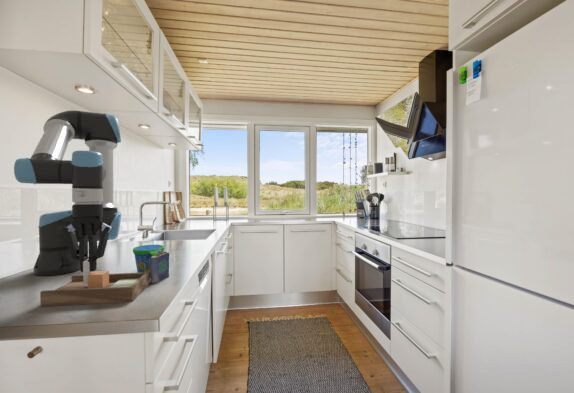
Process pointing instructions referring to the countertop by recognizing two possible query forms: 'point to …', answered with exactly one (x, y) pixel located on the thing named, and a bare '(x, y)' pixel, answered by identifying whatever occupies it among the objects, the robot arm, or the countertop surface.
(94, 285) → the block
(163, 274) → the purple carton
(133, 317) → the countertop surface
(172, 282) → the countertop surface
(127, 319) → the countertop surface
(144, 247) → the snack cup
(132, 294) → the wooden tray
